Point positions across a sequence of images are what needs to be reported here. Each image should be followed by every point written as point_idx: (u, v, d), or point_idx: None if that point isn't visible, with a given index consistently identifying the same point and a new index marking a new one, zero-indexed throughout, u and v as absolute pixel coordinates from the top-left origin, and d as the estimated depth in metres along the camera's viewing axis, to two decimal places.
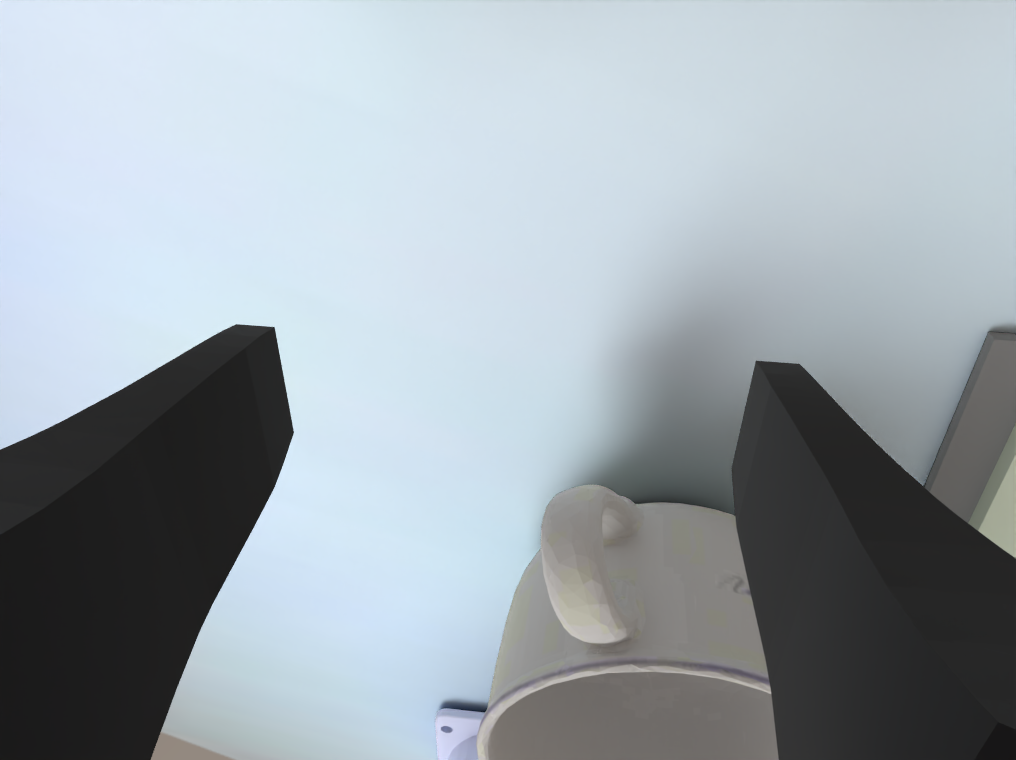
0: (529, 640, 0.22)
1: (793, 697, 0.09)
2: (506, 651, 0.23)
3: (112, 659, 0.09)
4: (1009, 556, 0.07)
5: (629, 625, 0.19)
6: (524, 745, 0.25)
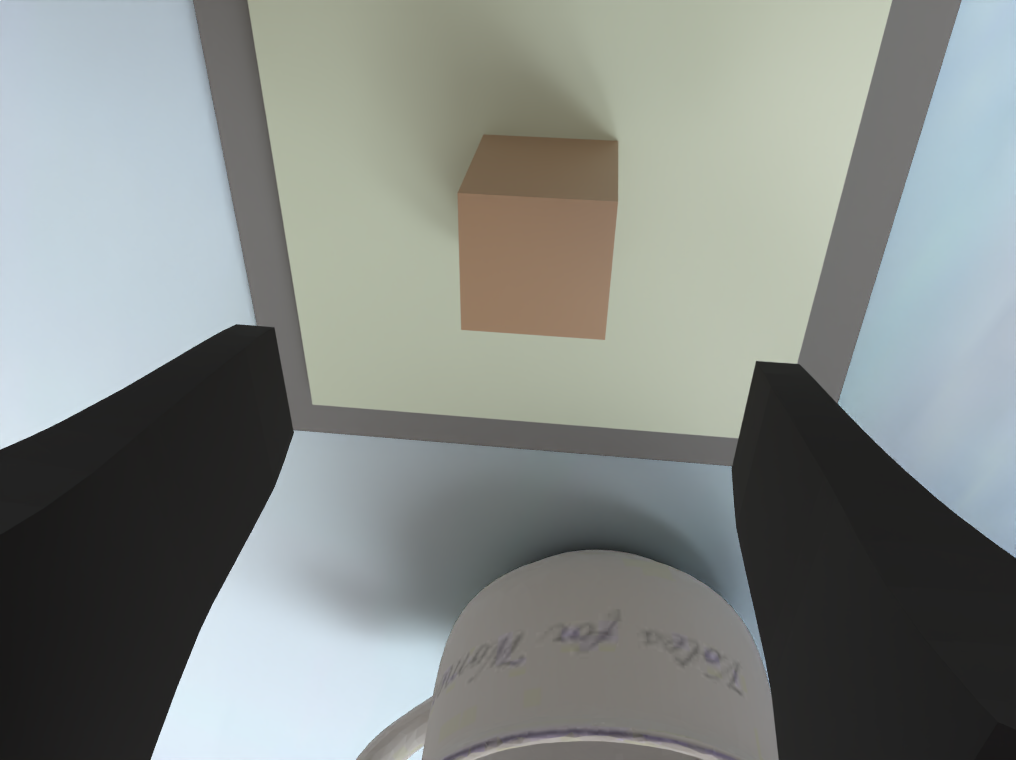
0: None
1: (793, 697, 0.09)
2: None
3: (112, 659, 0.09)
4: (1009, 556, 0.07)
5: None
6: None
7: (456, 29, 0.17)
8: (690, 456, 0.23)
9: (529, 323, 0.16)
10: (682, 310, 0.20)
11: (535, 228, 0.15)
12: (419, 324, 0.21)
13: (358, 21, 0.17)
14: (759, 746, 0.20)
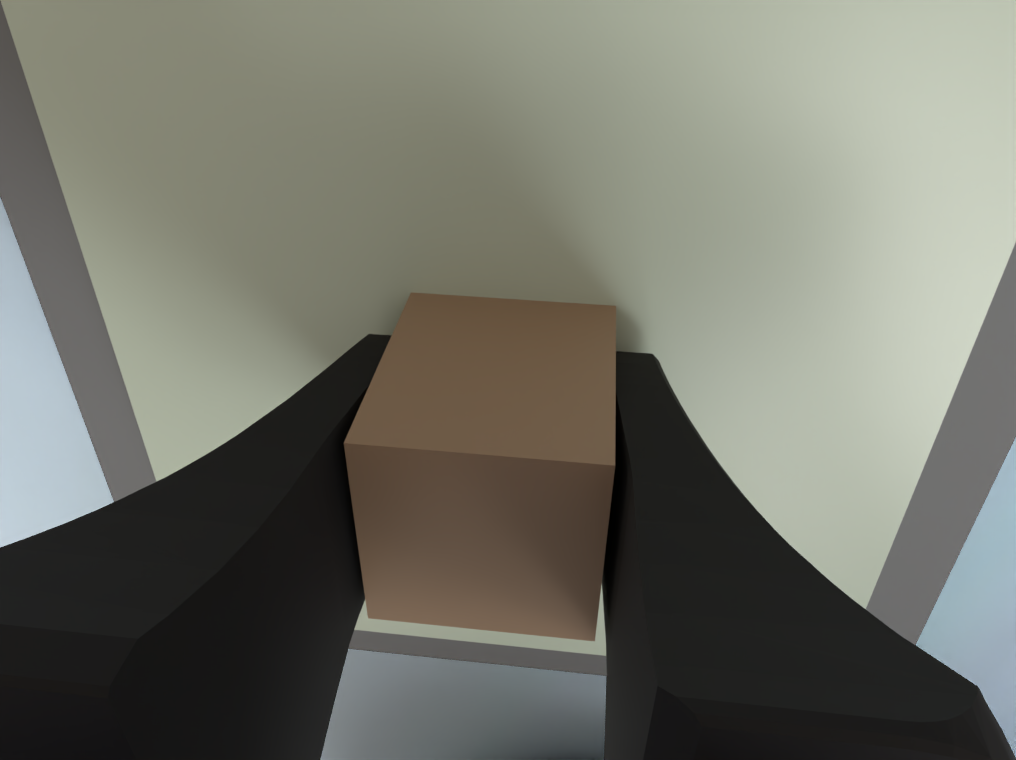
0: None
1: (611, 678, 0.09)
2: None
3: (295, 679, 0.08)
4: (776, 535, 0.07)
5: None
6: None
7: (360, 144, 0.10)
8: None
9: (475, 614, 0.10)
10: None
11: (478, 496, 0.09)
12: None
13: (206, 130, 0.11)
14: None
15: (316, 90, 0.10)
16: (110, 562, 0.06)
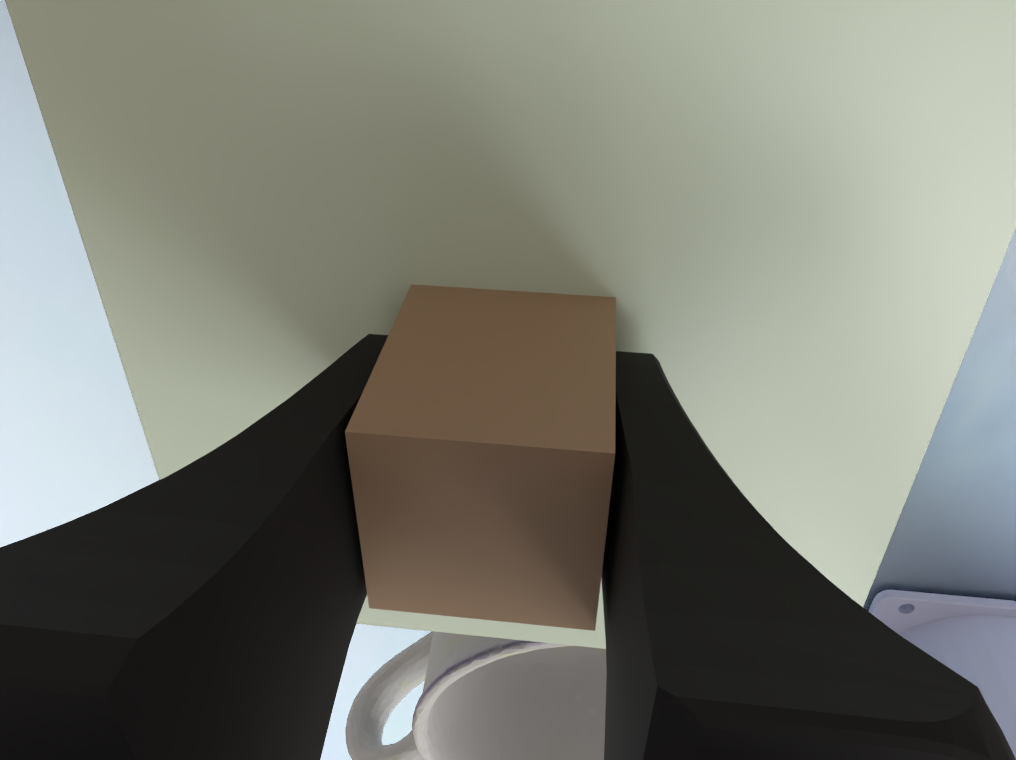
0: None
1: (611, 678, 0.09)
2: None
3: (295, 679, 0.08)
4: (776, 535, 0.07)
5: (409, 744, 0.24)
6: None
7: (360, 134, 0.11)
8: None
9: (476, 604, 0.10)
10: None
11: (478, 484, 0.09)
12: None
13: (207, 122, 0.11)
14: None
15: (317, 82, 0.10)
16: (110, 562, 0.06)
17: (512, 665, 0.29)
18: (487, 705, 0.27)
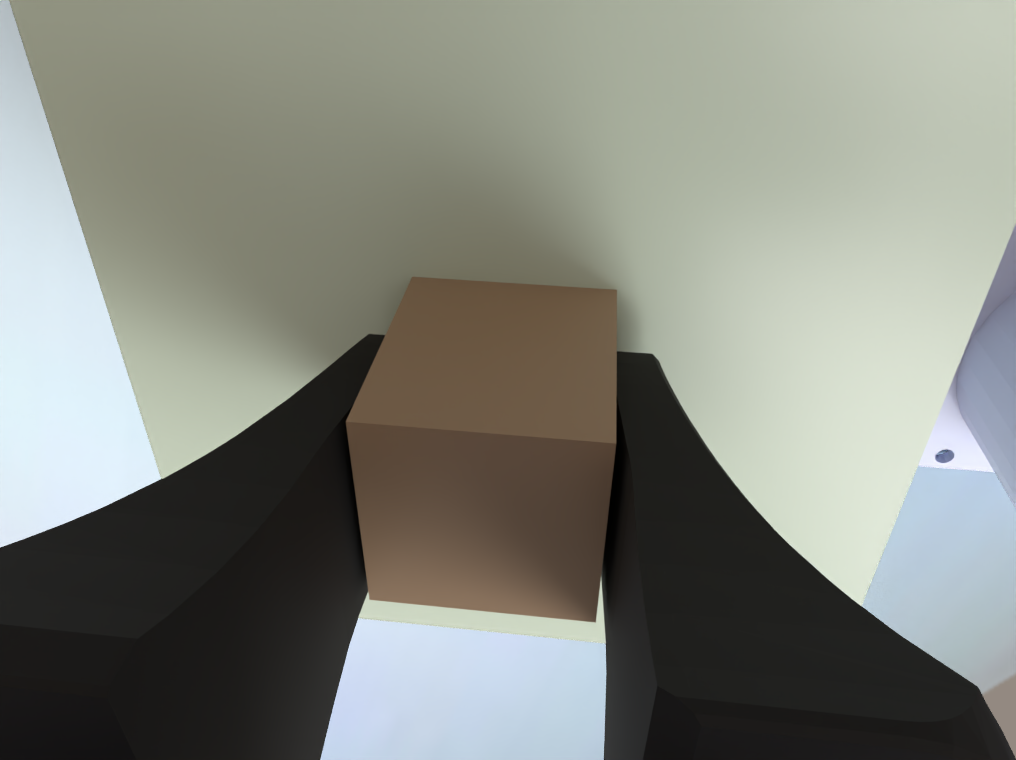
0: None
1: (611, 678, 0.09)
2: None
3: (295, 679, 0.08)
4: (776, 535, 0.07)
5: None
6: None
7: (361, 125, 0.11)
8: None
9: (476, 596, 0.10)
10: None
11: (479, 475, 0.09)
12: None
13: (208, 113, 0.11)
14: None
15: (318, 73, 0.10)
16: (110, 562, 0.06)
17: None
18: None
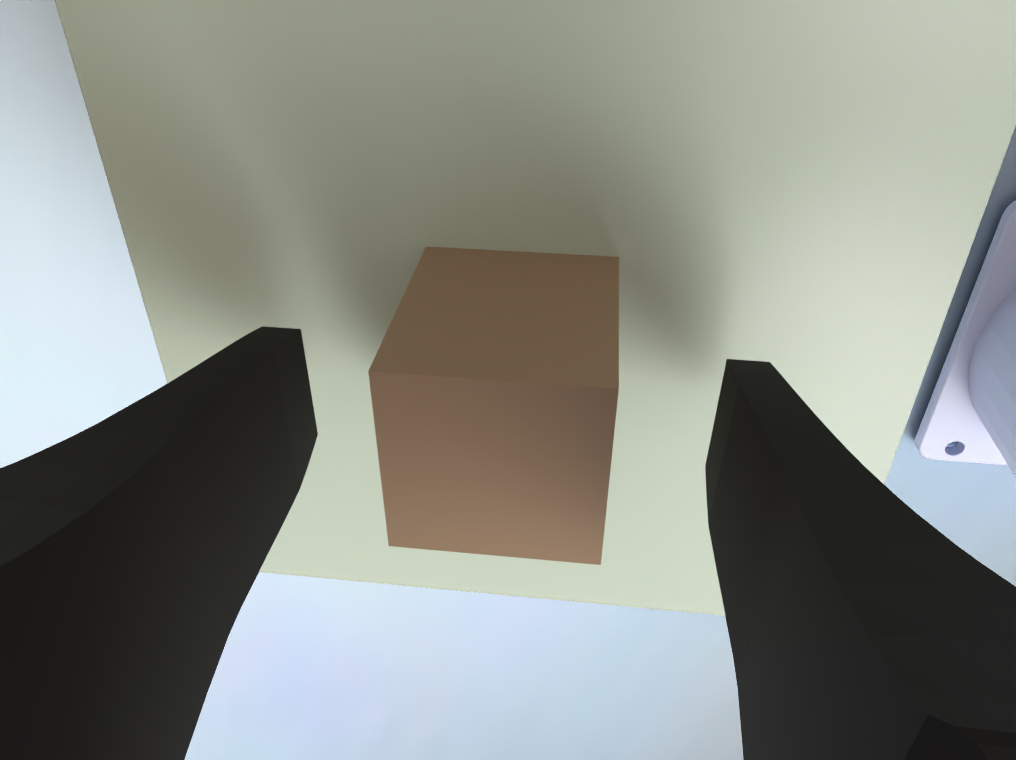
0: None
1: (756, 693, 0.09)
2: None
3: (148, 663, 0.08)
4: (962, 552, 0.07)
5: None
6: None
7: (379, 101, 0.11)
8: None
9: (488, 541, 0.11)
10: None
11: (491, 422, 0.10)
12: (352, 480, 0.15)
13: (235, 92, 0.11)
14: None
15: (338, 52, 0.11)
16: None
17: None
18: None
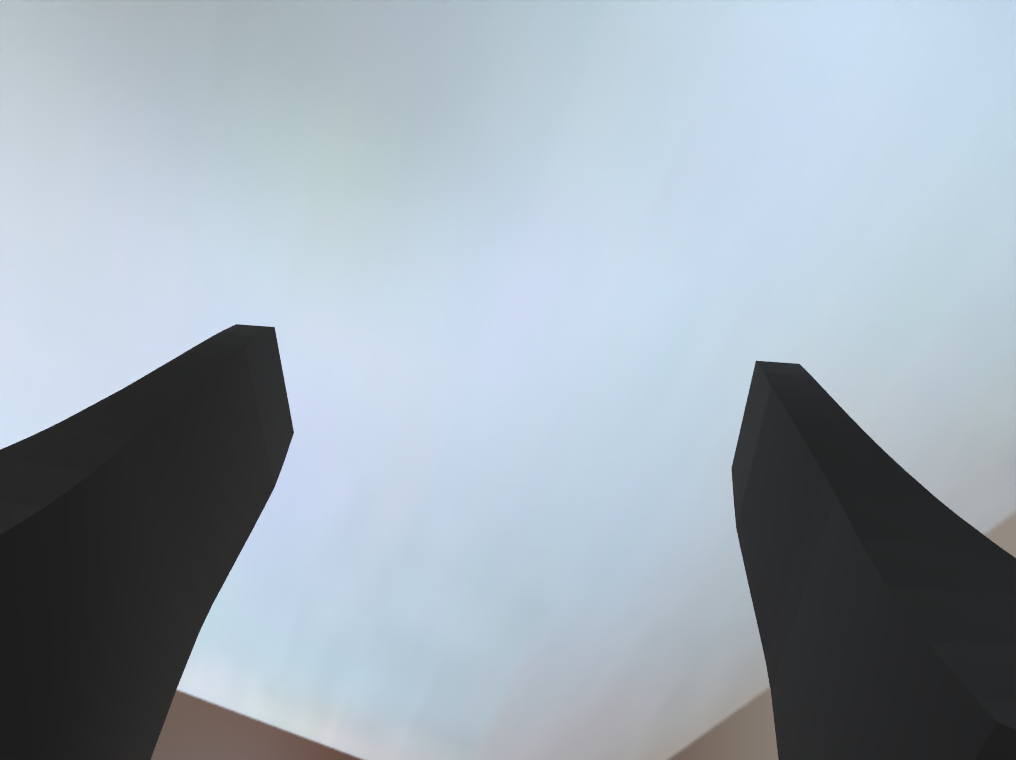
0: None
1: (793, 697, 0.09)
2: None
3: (112, 659, 0.09)
4: (1009, 556, 0.07)
5: None
6: None
7: None
8: None
9: None
10: None
11: None
12: None
13: None
14: None
15: None
16: None
17: None
18: None
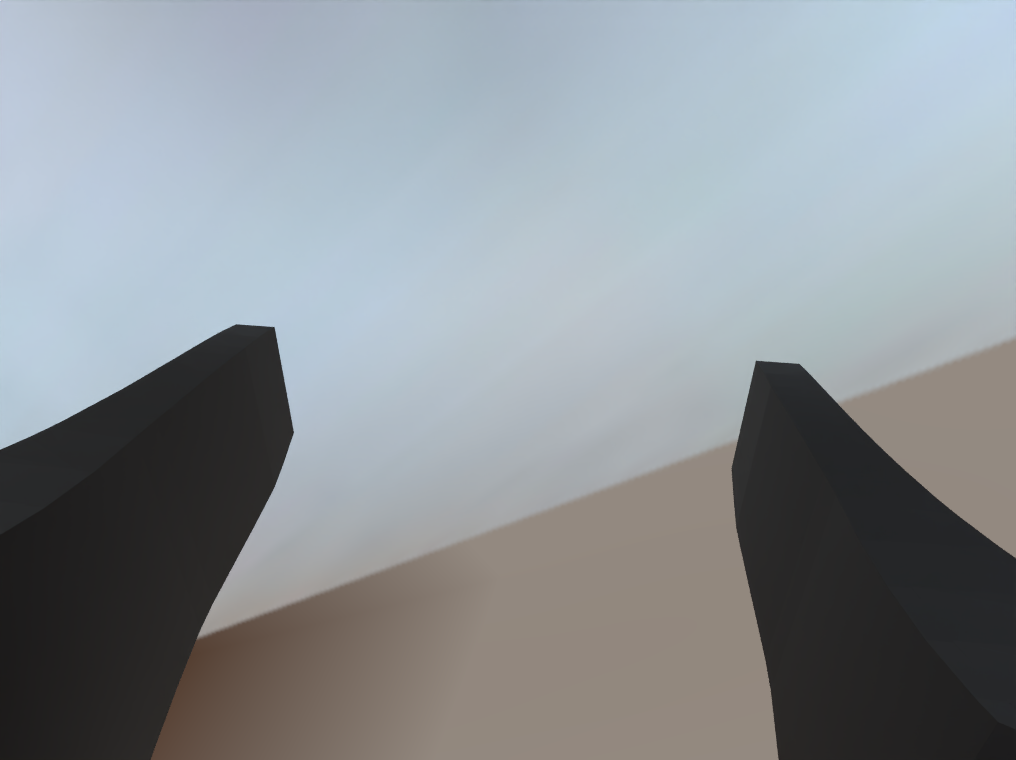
0: None
1: (793, 697, 0.09)
2: None
3: (112, 659, 0.09)
4: (1009, 556, 0.07)
5: None
6: None
7: None
8: None
9: None
10: None
11: None
12: None
13: None
14: None
15: None
16: None
17: None
18: None
